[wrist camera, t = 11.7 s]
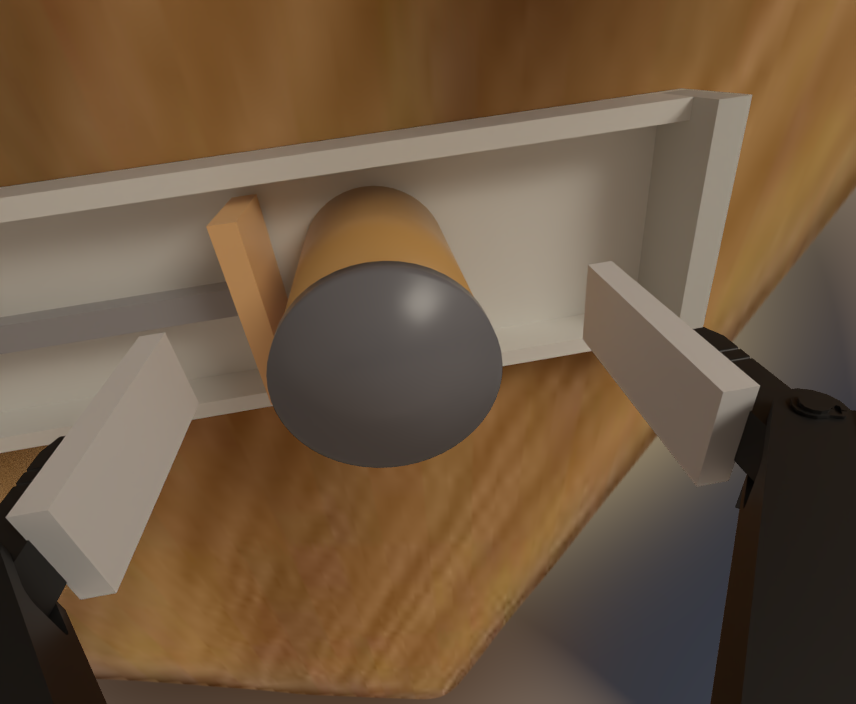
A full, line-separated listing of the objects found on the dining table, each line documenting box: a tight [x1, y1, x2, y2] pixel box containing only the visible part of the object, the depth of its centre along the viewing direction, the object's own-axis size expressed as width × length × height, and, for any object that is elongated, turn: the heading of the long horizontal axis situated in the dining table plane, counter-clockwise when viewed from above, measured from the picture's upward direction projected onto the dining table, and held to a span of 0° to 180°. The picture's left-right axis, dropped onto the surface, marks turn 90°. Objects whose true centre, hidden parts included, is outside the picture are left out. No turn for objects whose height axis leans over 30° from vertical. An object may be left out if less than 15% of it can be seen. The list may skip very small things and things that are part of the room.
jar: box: [266, 186, 503, 468], centre depth 18 cm, size 7×7×10 cm
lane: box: [0, 89, 752, 453], centre depth 20 cm, size 11×40×6 cm, turn 97°
